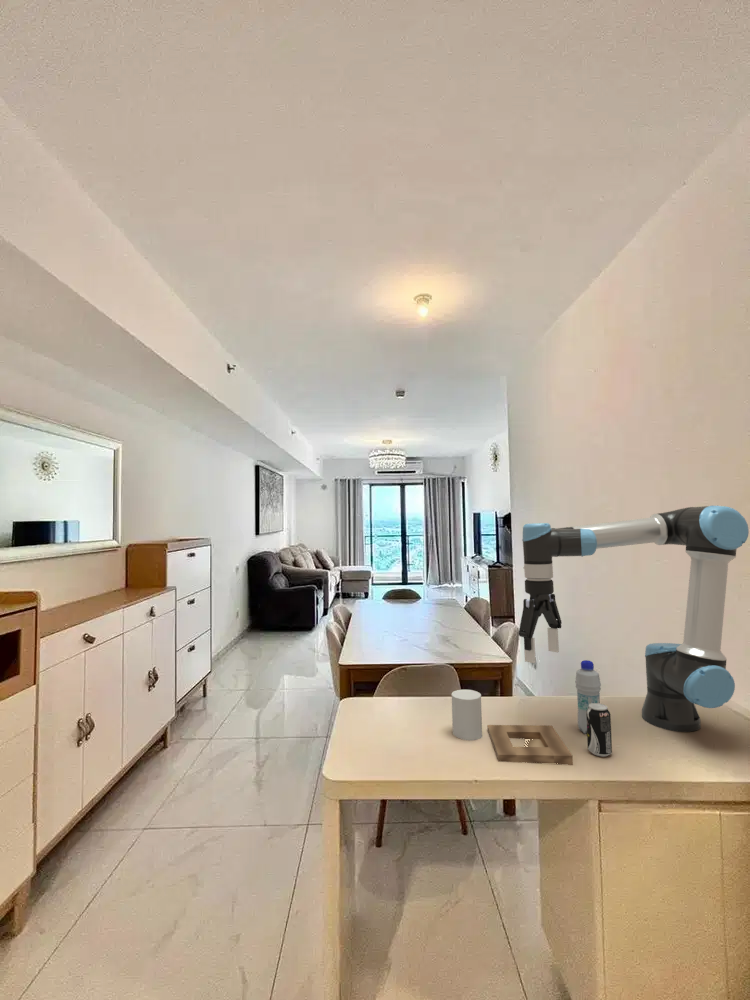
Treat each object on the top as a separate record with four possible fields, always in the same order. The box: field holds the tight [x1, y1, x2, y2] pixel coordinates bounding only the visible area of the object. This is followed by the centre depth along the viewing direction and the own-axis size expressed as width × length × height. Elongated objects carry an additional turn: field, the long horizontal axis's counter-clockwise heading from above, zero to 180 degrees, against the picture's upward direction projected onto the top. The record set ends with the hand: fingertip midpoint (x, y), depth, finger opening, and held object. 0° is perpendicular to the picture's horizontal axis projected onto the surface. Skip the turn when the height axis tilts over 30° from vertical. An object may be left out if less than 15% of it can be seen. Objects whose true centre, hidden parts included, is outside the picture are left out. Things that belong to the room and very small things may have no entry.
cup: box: [451, 689, 483, 741], centre depth 138 cm, size 8×8×12 cm
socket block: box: [486, 724, 574, 766], centre depth 130 cm, size 18×18×2 cm
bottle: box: [575, 659, 602, 735], centre depth 140 cm, size 7×7×20 cm
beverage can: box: [586, 702, 613, 758], centre depth 127 cm, size 6×6×12 cm
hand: (542, 656), depth 135 cm, fingers open, 13 cm apart
